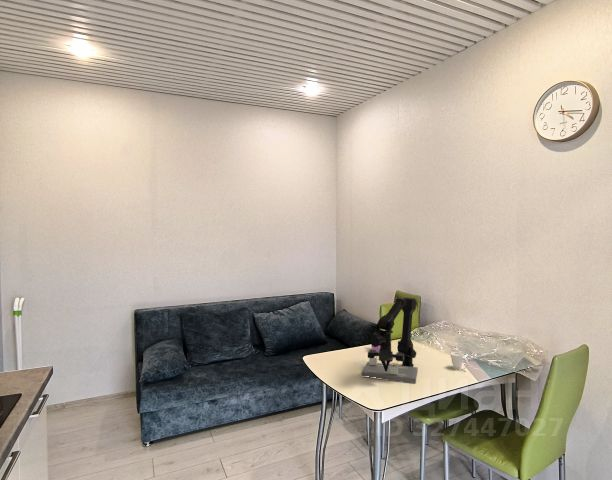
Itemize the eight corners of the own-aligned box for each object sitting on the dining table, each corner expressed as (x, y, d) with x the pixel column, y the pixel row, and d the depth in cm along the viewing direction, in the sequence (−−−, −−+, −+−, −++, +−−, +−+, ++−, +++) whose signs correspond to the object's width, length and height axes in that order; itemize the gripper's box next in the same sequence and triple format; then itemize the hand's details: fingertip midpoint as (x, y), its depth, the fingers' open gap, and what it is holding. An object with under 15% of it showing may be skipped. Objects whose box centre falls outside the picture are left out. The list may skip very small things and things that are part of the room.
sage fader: (390, 371, 198) (390, 364, 197) (398, 372, 196) (397, 364, 196) (389, 373, 195) (389, 366, 195) (397, 374, 193) (397, 367, 193)
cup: (454, 364, 213) (454, 351, 213) (471, 369, 205) (471, 355, 205) (448, 367, 209) (447, 353, 208) (464, 373, 201) (464, 358, 200)
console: (367, 366, 214) (367, 361, 213) (417, 371, 204) (417, 367, 204) (361, 376, 199) (361, 372, 198) (415, 383, 189) (415, 378, 189)
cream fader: (370, 362, 211) (370, 355, 211) (377, 363, 210) (377, 356, 210) (369, 364, 208) (369, 357, 208) (376, 365, 207) (376, 358, 207)
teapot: (381, 355, 230) (381, 341, 230) (365, 349, 243) (364, 335, 243) (393, 352, 236) (392, 338, 236) (376, 346, 249) (376, 332, 248)
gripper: (365, 345, 192) (365, 374, 193) (401, 348, 186) (402, 379, 186) (369, 339, 203) (369, 367, 203) (404, 342, 196) (404, 371, 196)
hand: (386, 371), depth 197 cm, fingers closed
